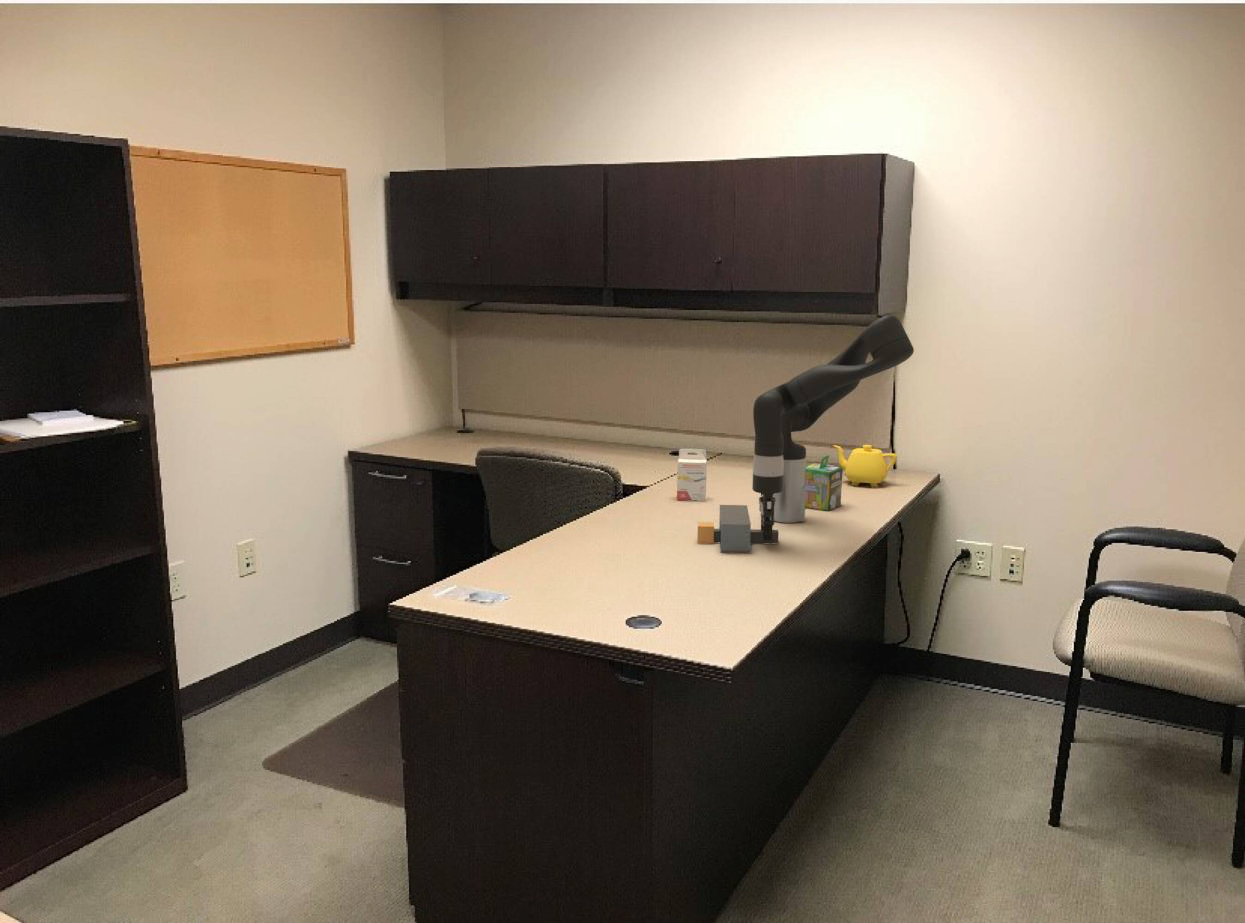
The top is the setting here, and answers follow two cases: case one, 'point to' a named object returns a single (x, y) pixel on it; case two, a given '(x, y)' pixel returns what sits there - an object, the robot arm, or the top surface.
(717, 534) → the plug
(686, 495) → the ink cartridge box
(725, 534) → the mallet head
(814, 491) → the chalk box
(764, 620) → the top surface
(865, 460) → the teapot
